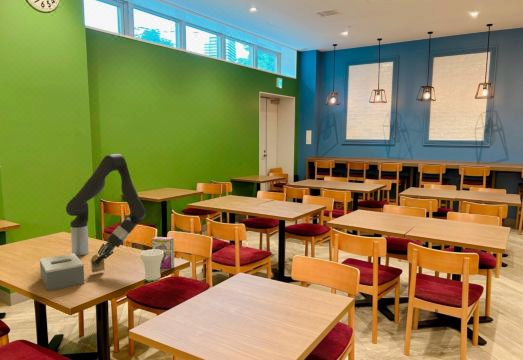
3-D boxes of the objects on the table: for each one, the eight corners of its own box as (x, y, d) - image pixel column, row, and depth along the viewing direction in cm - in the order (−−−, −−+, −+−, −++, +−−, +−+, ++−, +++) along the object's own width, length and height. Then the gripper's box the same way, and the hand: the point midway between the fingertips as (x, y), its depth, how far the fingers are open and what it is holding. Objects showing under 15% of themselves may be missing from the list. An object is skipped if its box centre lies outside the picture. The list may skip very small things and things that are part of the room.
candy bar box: (151, 268, 210) (151, 239, 208) (155, 264, 215) (154, 236, 213) (171, 268, 209) (171, 239, 207) (174, 265, 214) (174, 237, 212)
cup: (157, 273, 202) (156, 247, 200) (168, 279, 194) (167, 252, 192) (137, 279, 194) (136, 252, 192) (147, 285, 186) (147, 257, 184)
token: (91, 271, 201) (90, 255, 199) (103, 268, 204) (102, 253, 203) (92, 272, 199) (91, 256, 198) (104, 269, 202) (103, 254, 201)
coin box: (41, 278, 194) (39, 259, 193) (75, 271, 204) (74, 253, 203) (47, 291, 179) (46, 270, 177) (84, 283, 188) (83, 263, 187)
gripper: (109, 229, 209) (86, 255, 204) (117, 235, 199) (93, 262, 193) (119, 237, 213) (97, 262, 208) (127, 243, 203) (104, 270, 197)
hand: (95, 262), depth 200 cm, fingers closed on token, 2 cm apart
